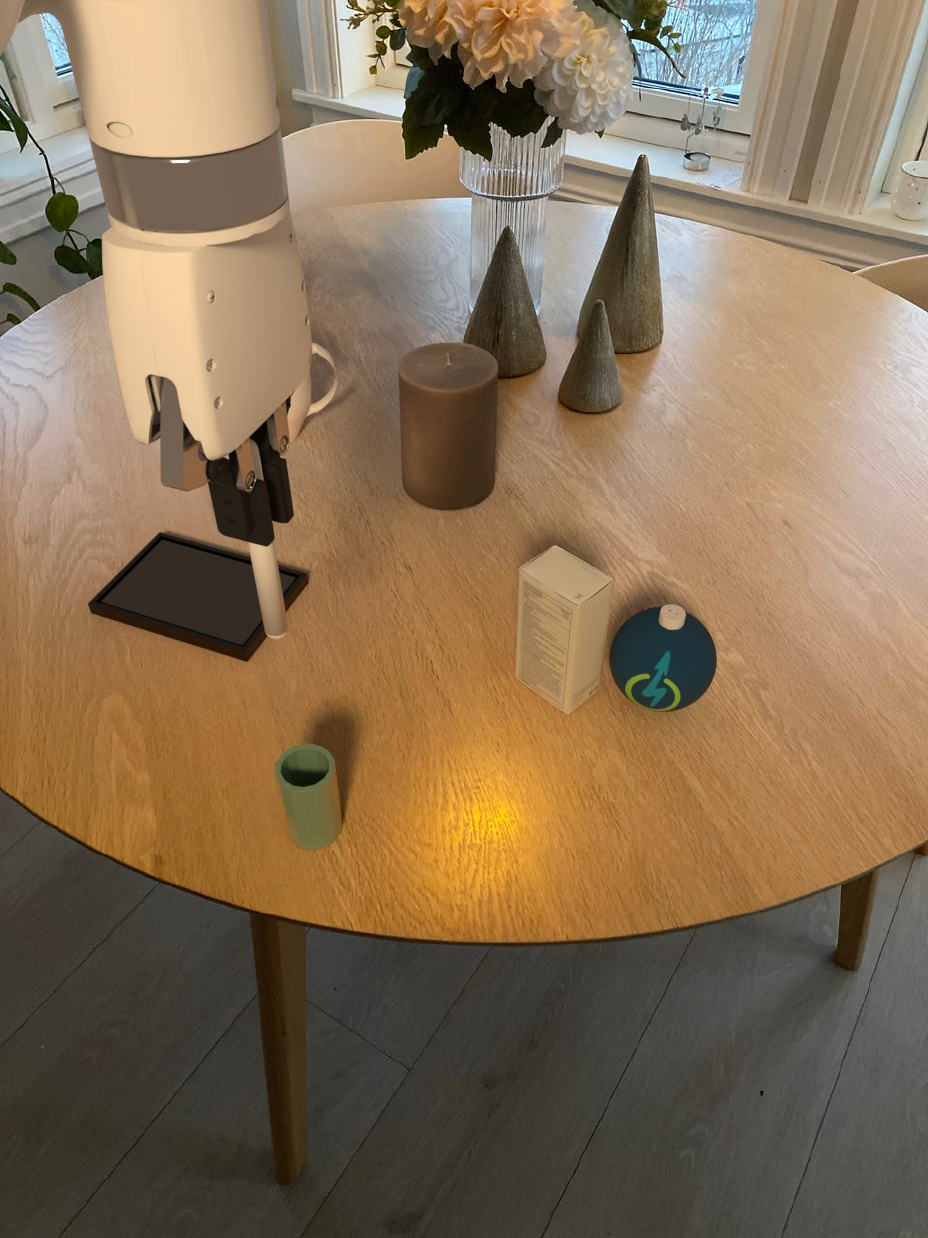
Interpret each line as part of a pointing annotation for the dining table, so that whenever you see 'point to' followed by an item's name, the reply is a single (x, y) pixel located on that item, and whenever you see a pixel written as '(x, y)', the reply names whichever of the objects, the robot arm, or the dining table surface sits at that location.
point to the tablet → (180, 633)
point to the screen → (194, 592)
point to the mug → (308, 398)
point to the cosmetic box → (562, 627)
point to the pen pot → (309, 796)
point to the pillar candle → (448, 424)
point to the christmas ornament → (663, 658)
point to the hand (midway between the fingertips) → (256, 525)
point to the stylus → (268, 577)
